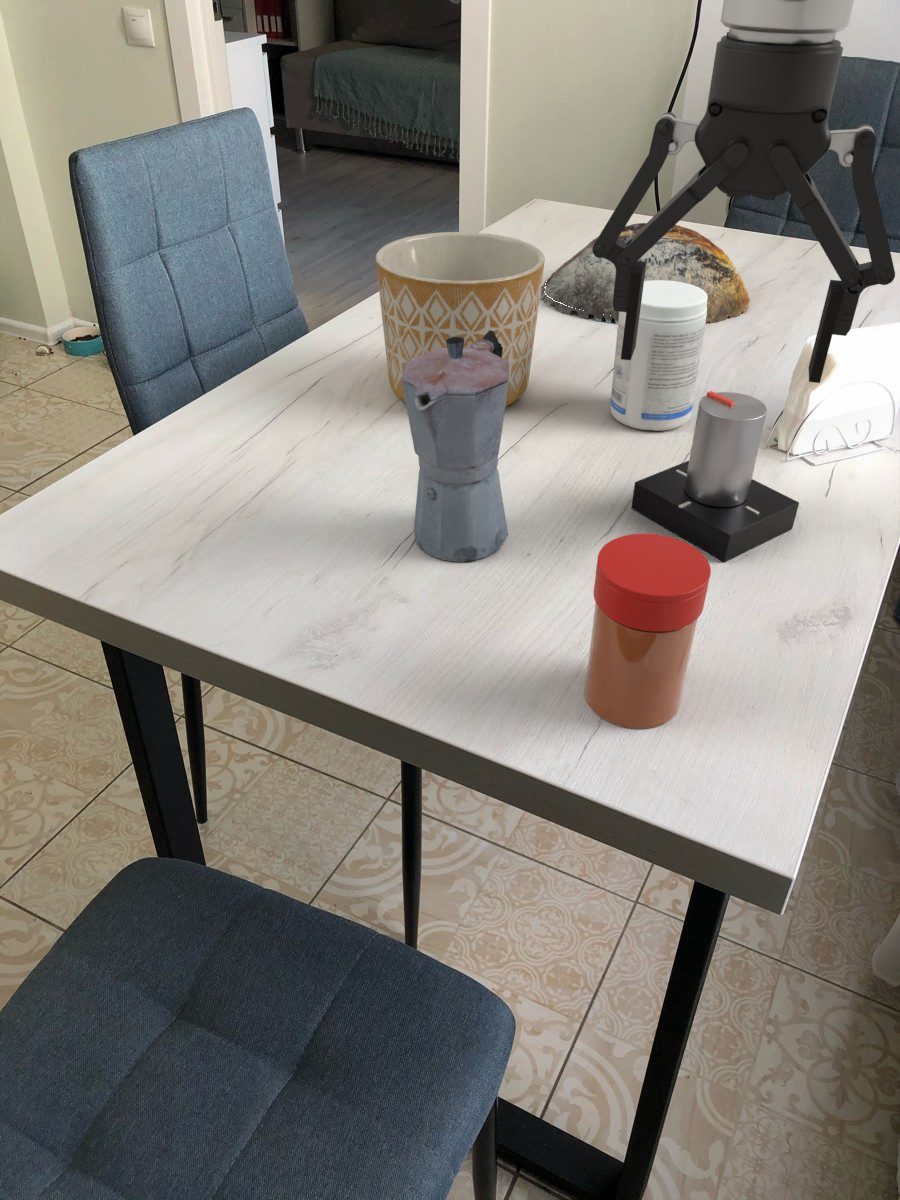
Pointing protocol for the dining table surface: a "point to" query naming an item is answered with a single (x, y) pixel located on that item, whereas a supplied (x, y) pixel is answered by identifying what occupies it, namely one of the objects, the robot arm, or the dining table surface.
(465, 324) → the planter
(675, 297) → the supplement tub
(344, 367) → the dining table surface
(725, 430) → the dial
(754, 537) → the panel
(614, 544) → the lid
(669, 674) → the jar
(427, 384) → the moka pot
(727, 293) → the bread
